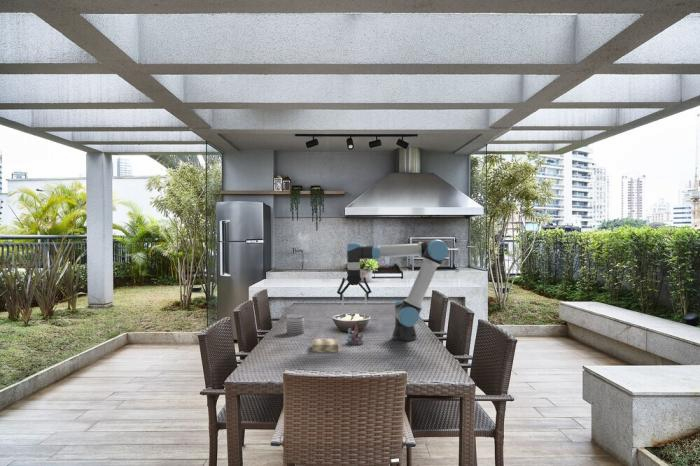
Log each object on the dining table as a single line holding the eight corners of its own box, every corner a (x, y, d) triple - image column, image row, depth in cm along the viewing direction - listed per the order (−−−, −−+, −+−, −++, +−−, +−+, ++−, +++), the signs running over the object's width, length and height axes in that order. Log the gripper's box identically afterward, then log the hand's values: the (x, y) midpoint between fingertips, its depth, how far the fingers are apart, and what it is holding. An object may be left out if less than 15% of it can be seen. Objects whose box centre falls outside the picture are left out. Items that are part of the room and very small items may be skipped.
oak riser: (337, 345, 276) (337, 338, 276) (338, 352, 261) (338, 344, 261) (313, 346, 275) (313, 339, 275) (312, 352, 260) (312, 344, 260)
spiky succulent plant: (365, 341, 275) (353, 324, 277) (350, 352, 277) (338, 335, 278) (369, 337, 286) (357, 321, 288) (354, 348, 288) (343, 331, 289)
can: (307, 334, 308) (307, 315, 308) (291, 336, 302) (291, 317, 302) (299, 331, 318) (299, 313, 318) (283, 333, 311) (283, 314, 311)
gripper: (373, 268, 287) (374, 303, 287) (332, 269, 285) (333, 305, 284) (375, 269, 279) (376, 305, 279) (332, 270, 277) (333, 306, 277)
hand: (354, 305), depth 282 cm, fingers open, 13 cm apart
